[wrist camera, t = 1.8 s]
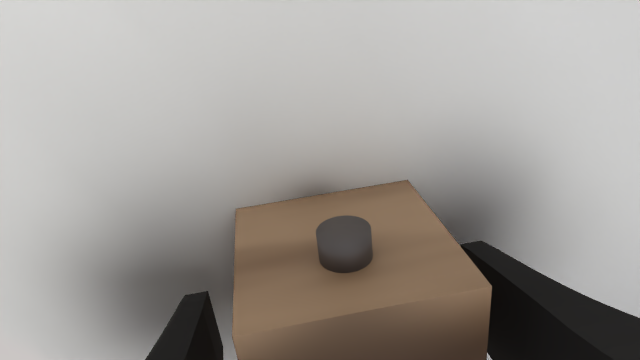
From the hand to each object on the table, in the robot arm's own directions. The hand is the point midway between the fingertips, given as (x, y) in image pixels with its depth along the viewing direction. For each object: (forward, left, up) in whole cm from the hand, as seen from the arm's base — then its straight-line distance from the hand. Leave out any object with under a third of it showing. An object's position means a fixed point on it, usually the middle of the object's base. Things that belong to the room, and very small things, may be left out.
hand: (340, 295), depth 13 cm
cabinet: (0, 0, -2) cm, 2 cm away
